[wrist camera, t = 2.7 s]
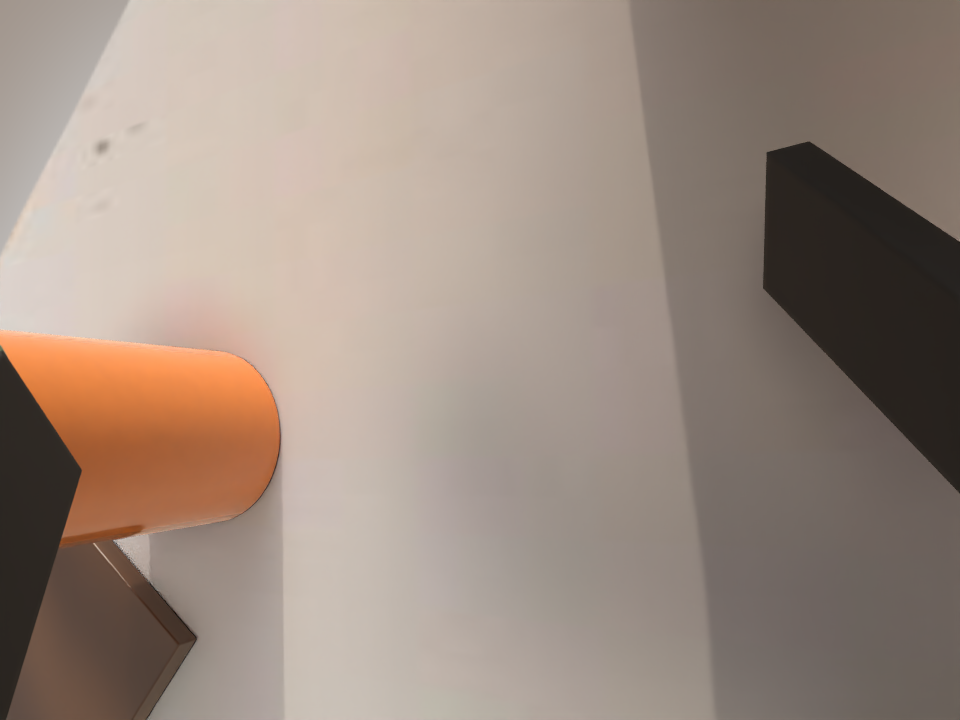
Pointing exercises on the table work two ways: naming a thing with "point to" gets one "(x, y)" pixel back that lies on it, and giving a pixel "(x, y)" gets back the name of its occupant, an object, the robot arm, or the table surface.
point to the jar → (151, 431)
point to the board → (98, 642)
